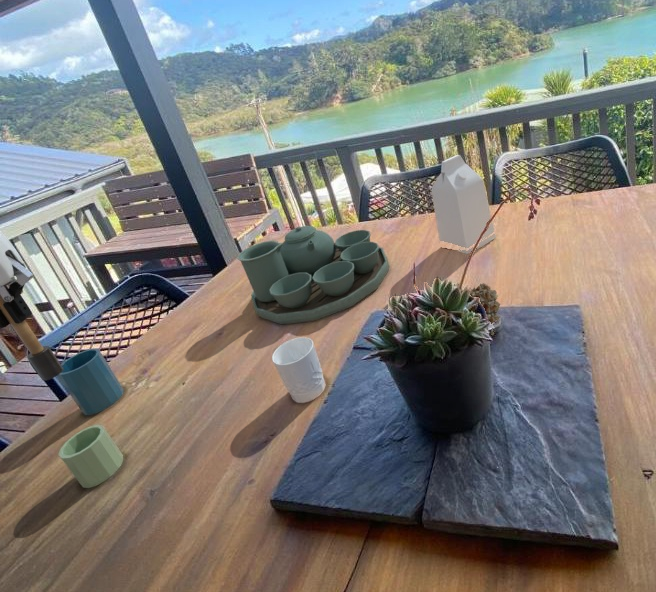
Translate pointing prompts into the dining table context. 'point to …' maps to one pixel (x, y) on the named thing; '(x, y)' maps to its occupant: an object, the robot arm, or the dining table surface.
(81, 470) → the holder
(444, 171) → the milk
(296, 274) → the tea set
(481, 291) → the pine cone
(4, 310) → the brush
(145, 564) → the dining table surface
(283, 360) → the white cup
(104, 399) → the blue faceted cup
